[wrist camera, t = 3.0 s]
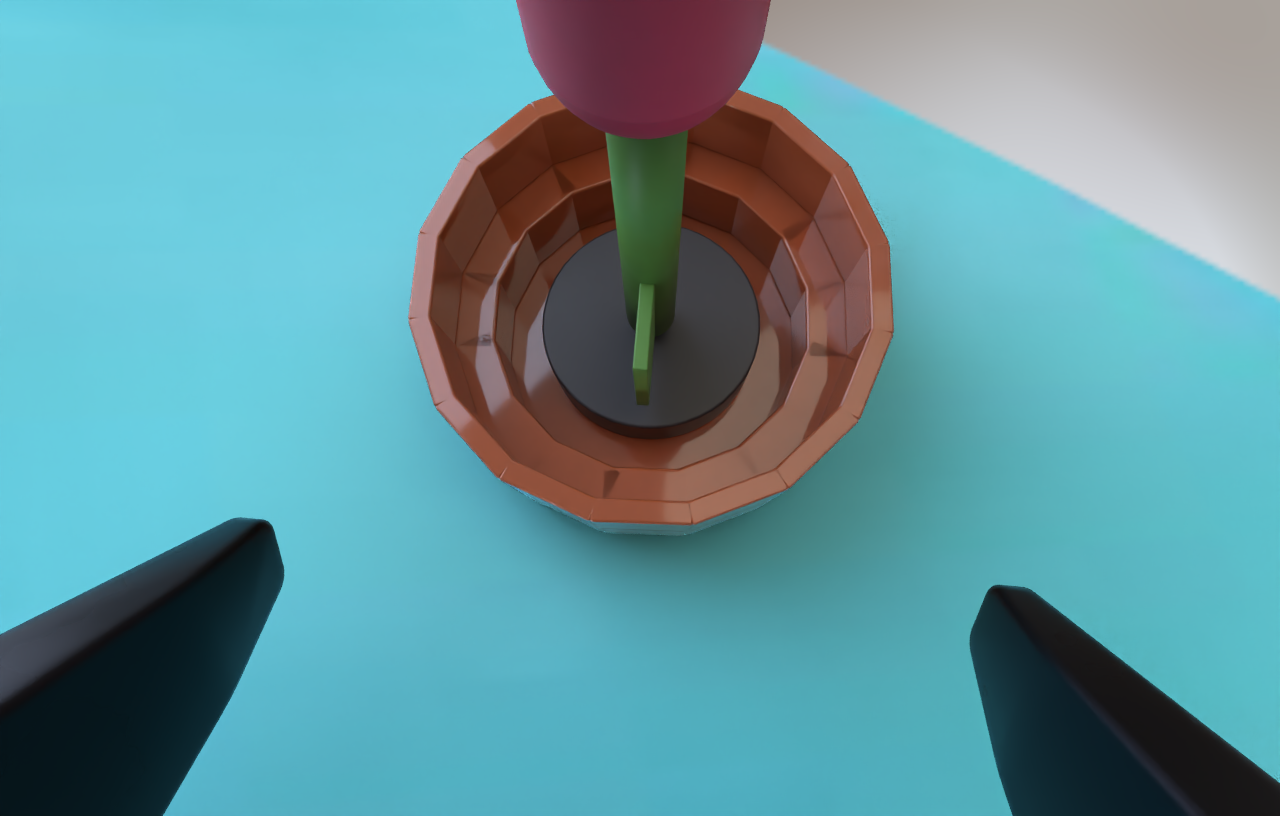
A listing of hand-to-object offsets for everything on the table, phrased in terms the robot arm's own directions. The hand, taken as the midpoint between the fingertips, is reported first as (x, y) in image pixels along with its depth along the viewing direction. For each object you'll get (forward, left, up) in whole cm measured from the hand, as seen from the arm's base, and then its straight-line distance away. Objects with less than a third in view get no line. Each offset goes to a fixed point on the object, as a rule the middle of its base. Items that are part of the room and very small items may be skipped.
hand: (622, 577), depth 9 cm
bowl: (+6, -3, -10) cm, 12 cm away
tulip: (+6, -3, -9) cm, 11 cm away
